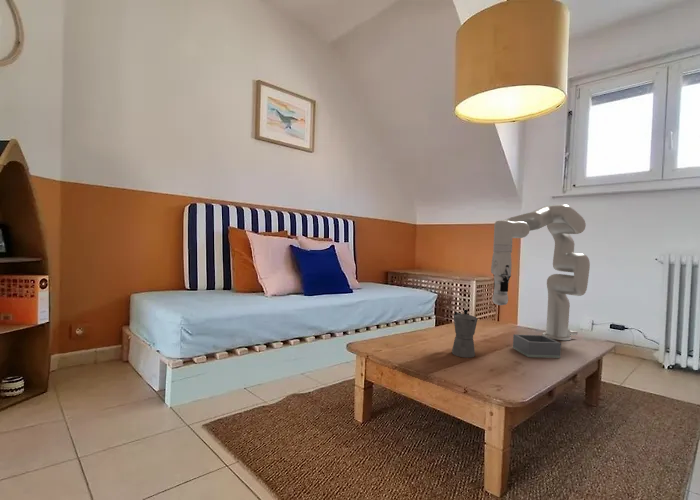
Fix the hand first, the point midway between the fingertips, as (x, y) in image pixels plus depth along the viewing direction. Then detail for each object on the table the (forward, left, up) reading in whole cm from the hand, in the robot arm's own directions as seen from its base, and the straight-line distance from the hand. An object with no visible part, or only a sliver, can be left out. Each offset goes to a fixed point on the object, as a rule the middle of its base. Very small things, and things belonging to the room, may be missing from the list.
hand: (500, 290), depth 163 cm
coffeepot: (+20, +12, -25) cm, 34 cm away
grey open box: (-13, +8, -25) cm, 29 cm away
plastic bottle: (0, 0, -7) cm, 7 cm away
